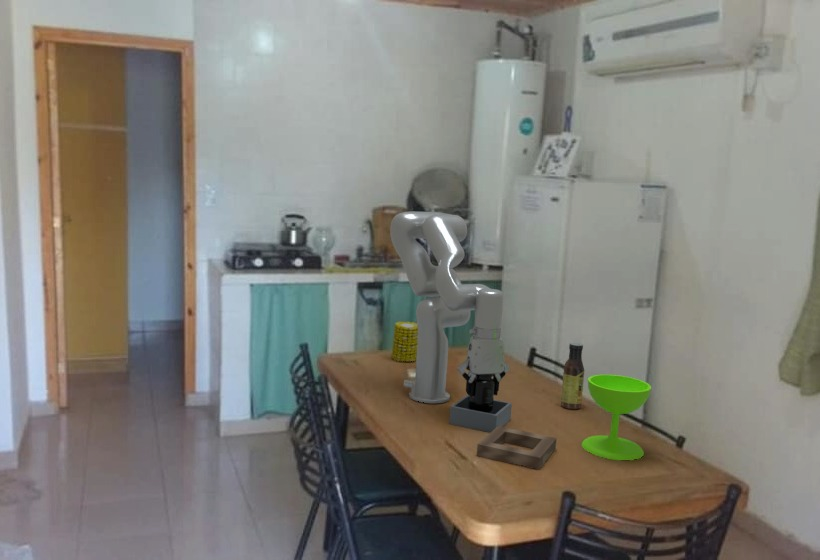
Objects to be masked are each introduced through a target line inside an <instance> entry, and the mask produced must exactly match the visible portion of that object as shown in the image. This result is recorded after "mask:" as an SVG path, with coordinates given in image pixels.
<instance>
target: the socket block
mask: <svg viewBox="0 0 820 560" xmlns="http://www.w3.org/2000/svg"><path fill="white" fill-rule="evenodd" d="M504 443H505V444H510V445H515V446H518V447H519V446H520V447H525V448H529V449H532V450H528V449H527V450H526V449H522V448H517V447H513V446H509V445H504ZM556 447H557V437H554V436H549V435H543V434H539V433H534V432H529V431H524V430H519V429H514V428H510V427H504V426H503V427H500V426H497V427H496V428H495V429H494V430H493V431H492V432H489V433H488V434H487V435H486V436H485V437H484V438H483V439H482V440H480V442H478V443H477V448H476V456H478V457H480V458H486V459H491V460H494V461H500V462H502V463H503V462H504V463H507V462H508V464H512V463H513V464H512V465H516V464H518V465H517V466H521V465H523V466H522V467H525V466H527V467H526V468H530V467H532V468H531V469H534V468H536V469H535V470H538V469H539V470H541V468H542V467H543V466H544V464H545V463H546V462H547V461H548V459H549V458H550V457H551V456H552V454H553V453H554V451H556Z"/></svg>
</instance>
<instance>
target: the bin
mask: <svg viewBox="0 0 820 560" xmlns="http://www.w3.org/2000/svg"><path fill="white" fill-rule="evenodd" d="M469 399H470V396H469V395H468V394H466V395H464V396H463V397H461V398H460V399H459V400H457V401H456V402H455V403H453V404H452V405H450V406H449V408H450V409H449V420H448V421H449V423H448V424H450V425H455V426H459V427H464V428H469V429H472V430H473V429H474V430H476V431H482V432H486V433H487V432H488V433H491V432H492V431H493V430H494V429H495V428H496V427H497V426H500V427H504V426H505V425H507V423H508V422H509V421H511V416H512V404H513V403H512V402H508V401H503V400H497V399H494V401H493V410H492V411H491V412H490V413H485V412H480V411H475V410H470V409H469Z"/></svg>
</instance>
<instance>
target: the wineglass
mask: <svg viewBox="0 0 820 560" xmlns="http://www.w3.org/2000/svg"><path fill="white" fill-rule="evenodd" d="M587 388H588V391H589V394H590V396H591V398H592V399H593V401H594V403H595V404H596V405H598V406H599V407H600V408H601V409H602V410H604V411H605V412H608V413H611V421H610V422H611V423H610V433H609V435H606V434H605V435H604V434H603V435H602V434H601V435H599V434H598V435H591V436H588V437H586V438H585V439H584V440H583V441H582V443H581V447H582V449H583V448H584V449H585V451H586V450H587V451H588V453H589V452H590V453H589V454H591V453H592V454H591V455H593V454H594V455H593V456H596V457H598V456H599V458H602V457H603V458H602V459H606V458H607V460H612V461H621V460H630V461H635V460H634V459H637V460H639V459H642V458H643V457H642V456H644V455H645V454H644V453H645V452H644V450H643V449H642V447H641V446H640V445H639V444H637V443H636V442H634V441H632V440H629V439H627V438H623V437H620V436H618V435H619V434H618V433H619V424H620V416H621V415H624V414H625V415H626V414H631V413H633V412H636V411H637V410H639V409H640V408H642V406H643V405H645V404H646V402H647V400H648V398H649V397H650V394H651V390H652V385H650V384H649V383H648V382H646V381H644V380H641V379H638V378H634V377H631V376H626V375H618V374H595V375H591V376H589V377H588V378H587ZM584 449H583V450H584ZM587 451H586V452H587ZM641 457H642V458H641Z"/></svg>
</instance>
